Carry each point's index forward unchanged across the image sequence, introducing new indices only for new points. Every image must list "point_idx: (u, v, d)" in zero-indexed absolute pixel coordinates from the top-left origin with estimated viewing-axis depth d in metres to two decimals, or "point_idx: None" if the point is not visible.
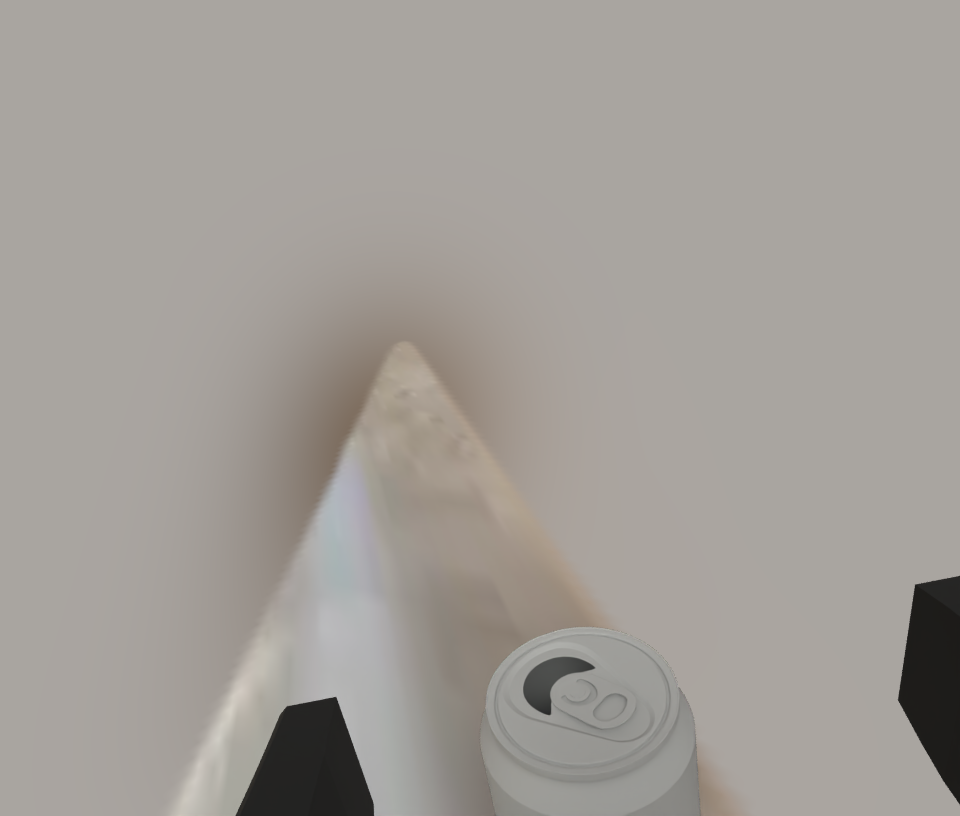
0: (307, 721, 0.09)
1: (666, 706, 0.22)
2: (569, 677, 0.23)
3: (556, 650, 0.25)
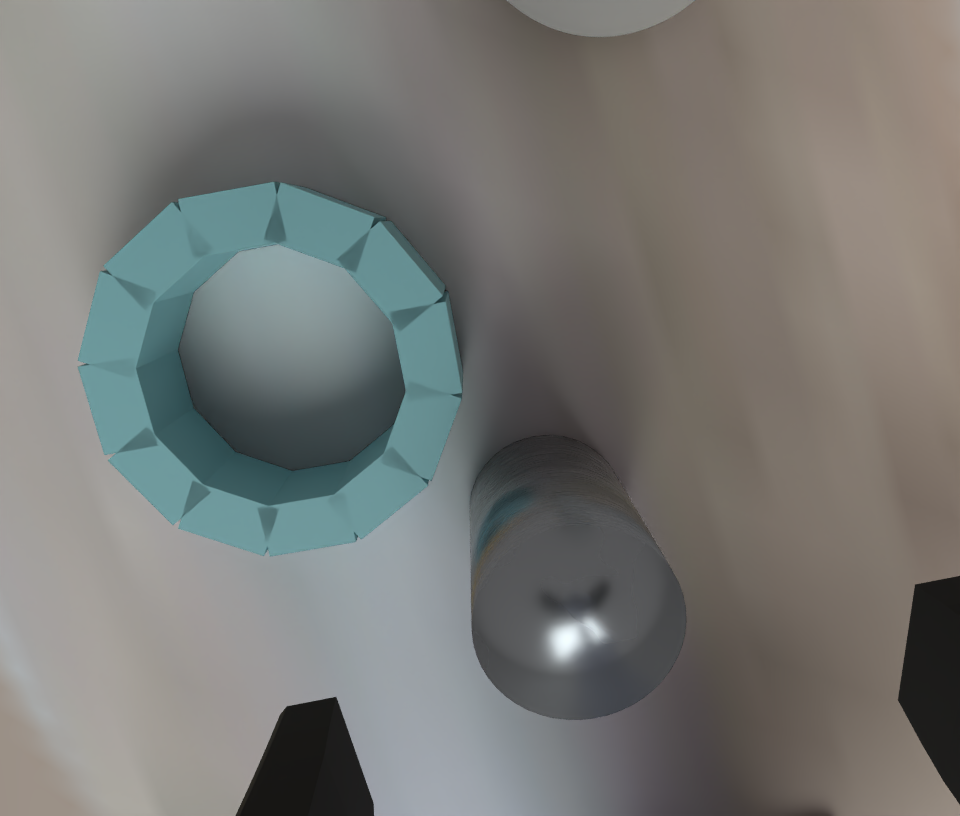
0: (307, 722, 0.09)
1: None
2: None
3: None
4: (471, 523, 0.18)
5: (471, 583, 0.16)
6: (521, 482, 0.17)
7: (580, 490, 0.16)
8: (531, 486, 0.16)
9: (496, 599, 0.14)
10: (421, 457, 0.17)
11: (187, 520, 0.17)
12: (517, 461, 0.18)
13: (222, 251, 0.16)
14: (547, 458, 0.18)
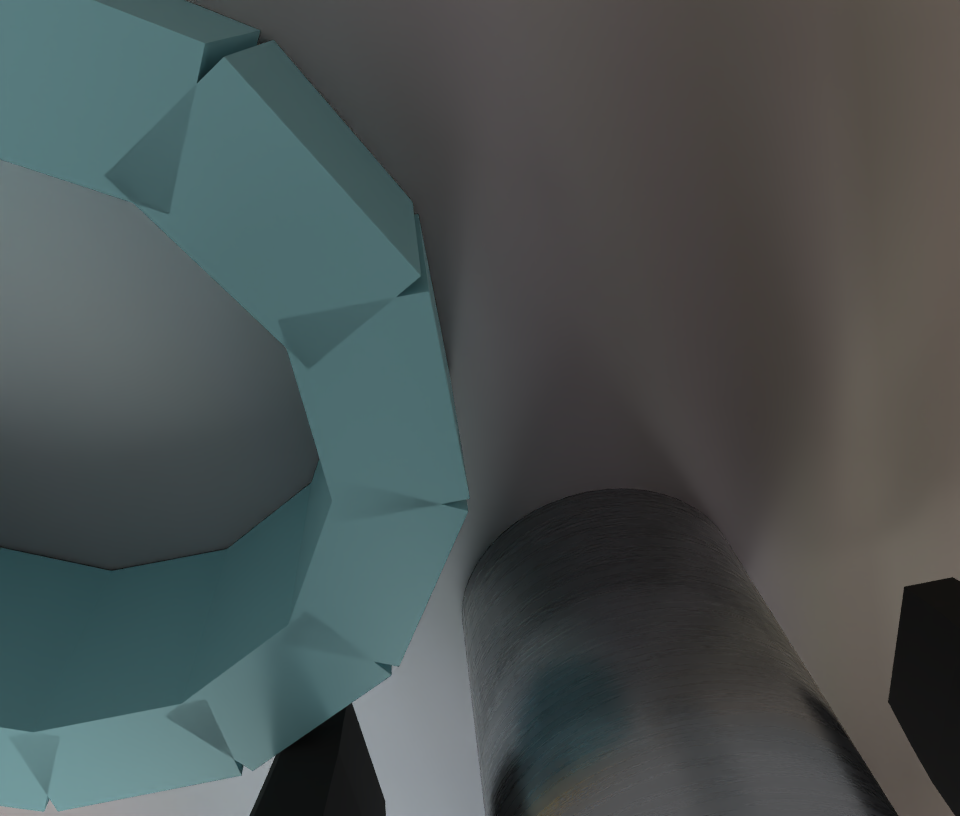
0: None
1: None
2: None
3: None
4: (477, 696, 0.09)
5: None
6: (604, 685, 0.08)
7: (765, 758, 0.07)
8: (634, 715, 0.07)
9: None
10: (374, 627, 0.08)
11: None
12: (571, 582, 0.09)
13: None
14: (640, 587, 0.09)
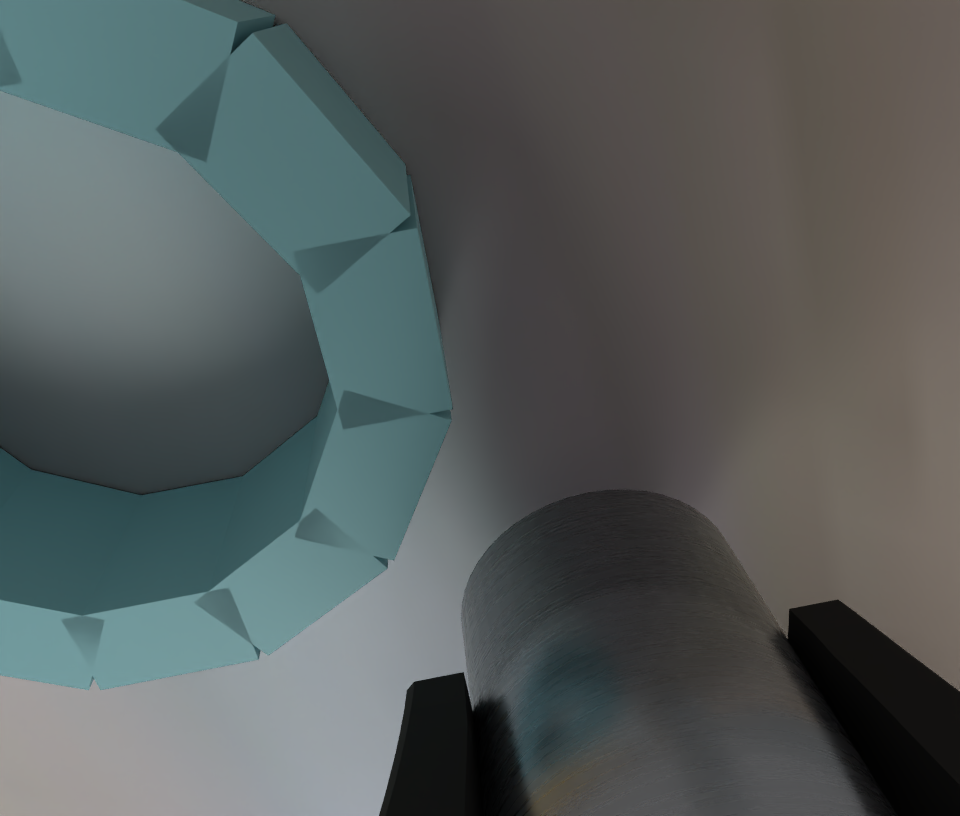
0: (440, 696, 0.09)
1: None
2: None
3: None
4: (476, 698, 0.09)
5: None
6: (604, 688, 0.07)
7: (766, 761, 0.07)
8: (634, 718, 0.07)
9: None
10: (373, 524, 0.09)
11: None
12: (571, 583, 0.09)
13: None
14: (640, 588, 0.08)
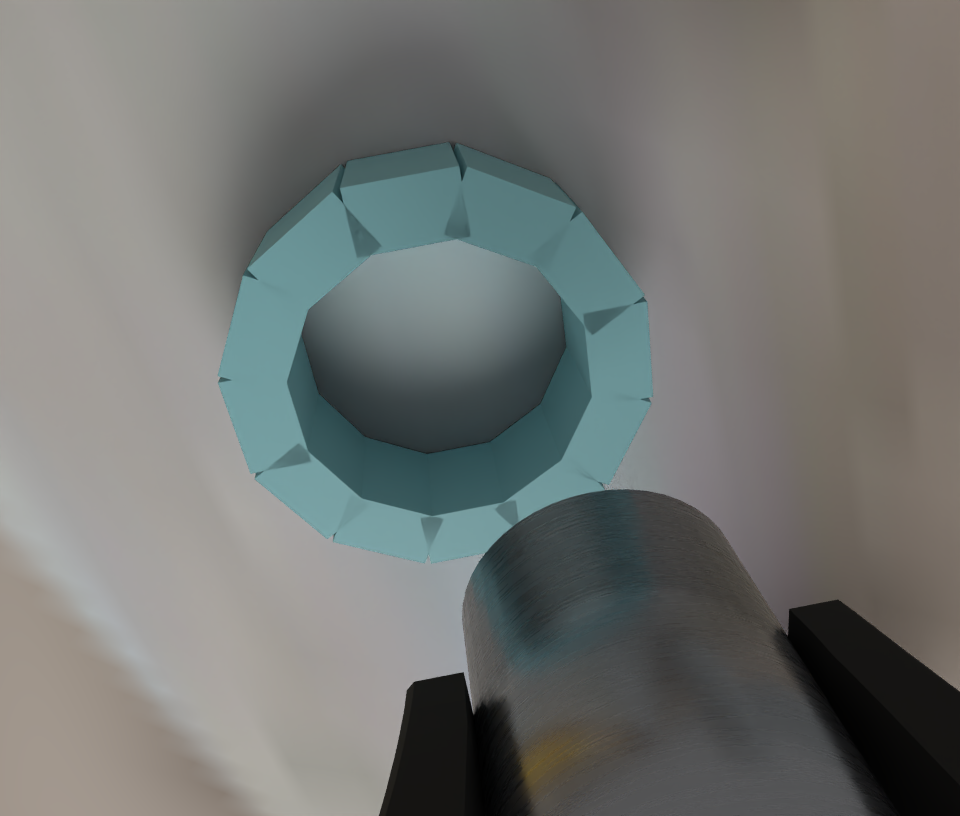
0: (440, 696, 0.09)
1: None
2: None
3: None
4: (477, 698, 0.09)
5: None
6: (605, 689, 0.07)
7: (769, 762, 0.07)
8: (636, 718, 0.07)
9: None
10: (600, 462, 0.16)
11: (342, 533, 0.16)
12: (573, 583, 0.09)
13: (392, 249, 0.13)
14: (642, 589, 0.08)
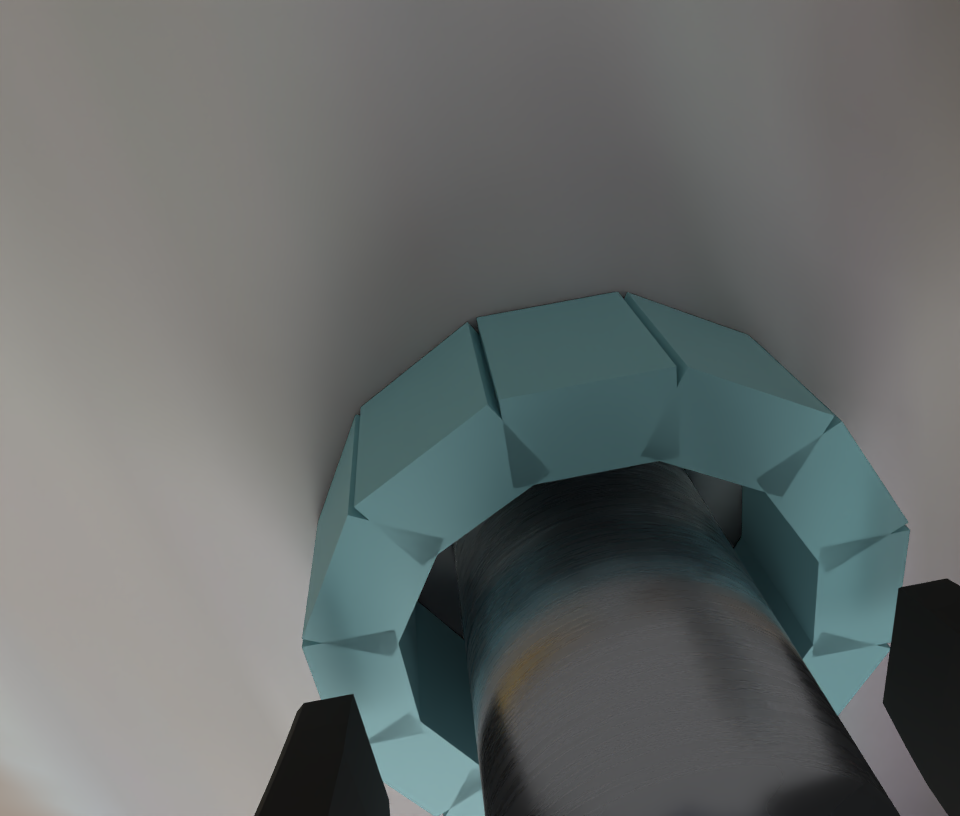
0: (325, 718, 0.09)
1: None
2: None
3: None
4: (464, 593, 0.11)
5: (483, 781, 0.08)
6: (567, 566, 0.09)
7: (694, 611, 0.08)
8: (591, 585, 0.09)
9: None
10: None
11: (457, 809, 0.12)
12: (544, 493, 0.10)
13: (564, 475, 0.09)
14: (601, 494, 0.10)
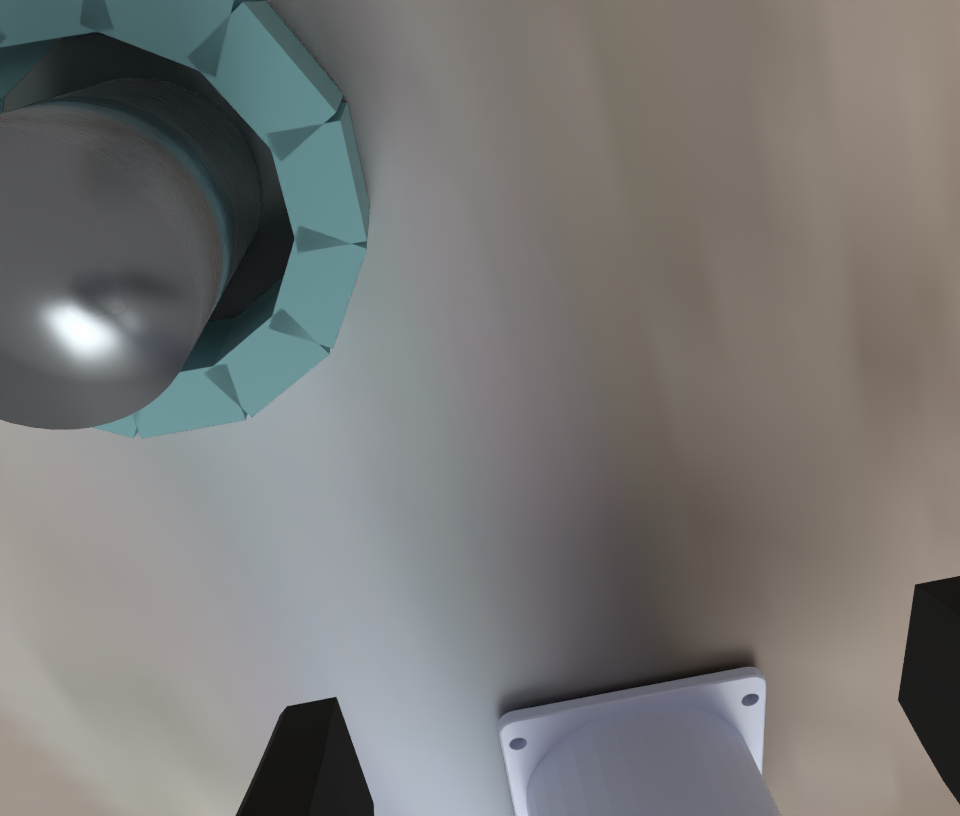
0: (307, 721, 0.09)
1: None
2: None
3: None
4: None
5: None
6: None
7: (70, 107, 0.11)
8: None
9: None
10: (319, 321, 0.14)
11: None
12: None
13: (21, 41, 0.12)
14: (90, 88, 0.12)
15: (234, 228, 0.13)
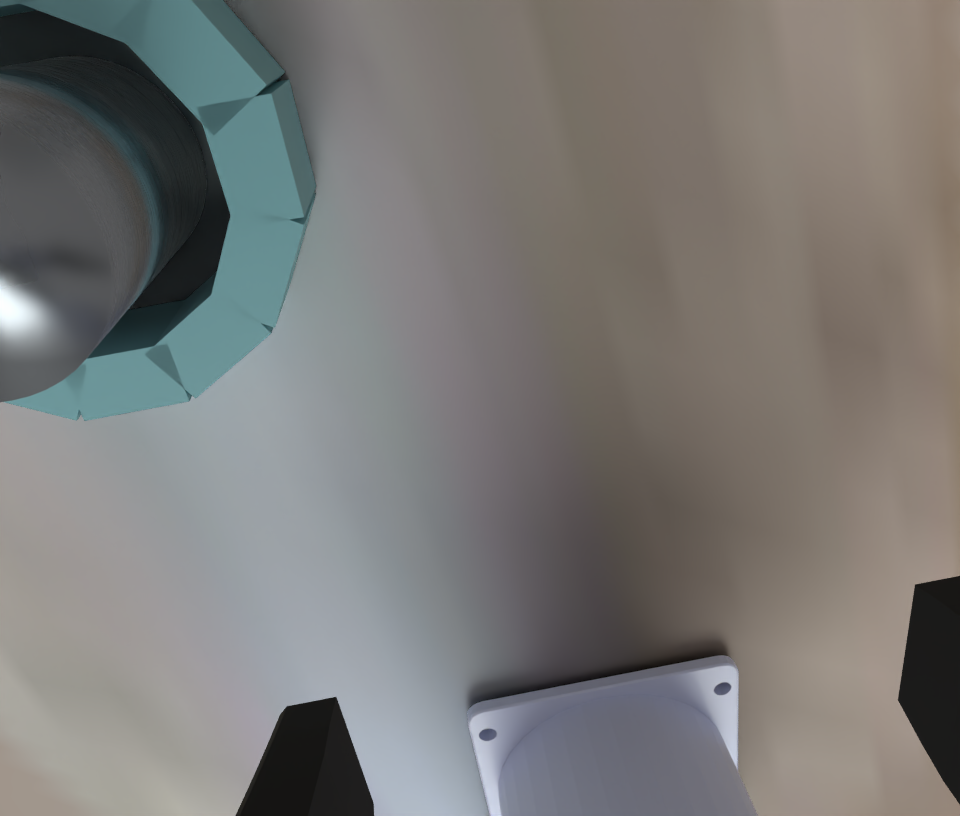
0: (307, 722, 0.09)
1: None
2: None
3: None
4: None
5: None
6: None
7: None
8: None
9: None
10: (259, 299, 0.14)
11: None
12: None
13: None
14: (20, 63, 0.12)
15: (166, 203, 0.12)
